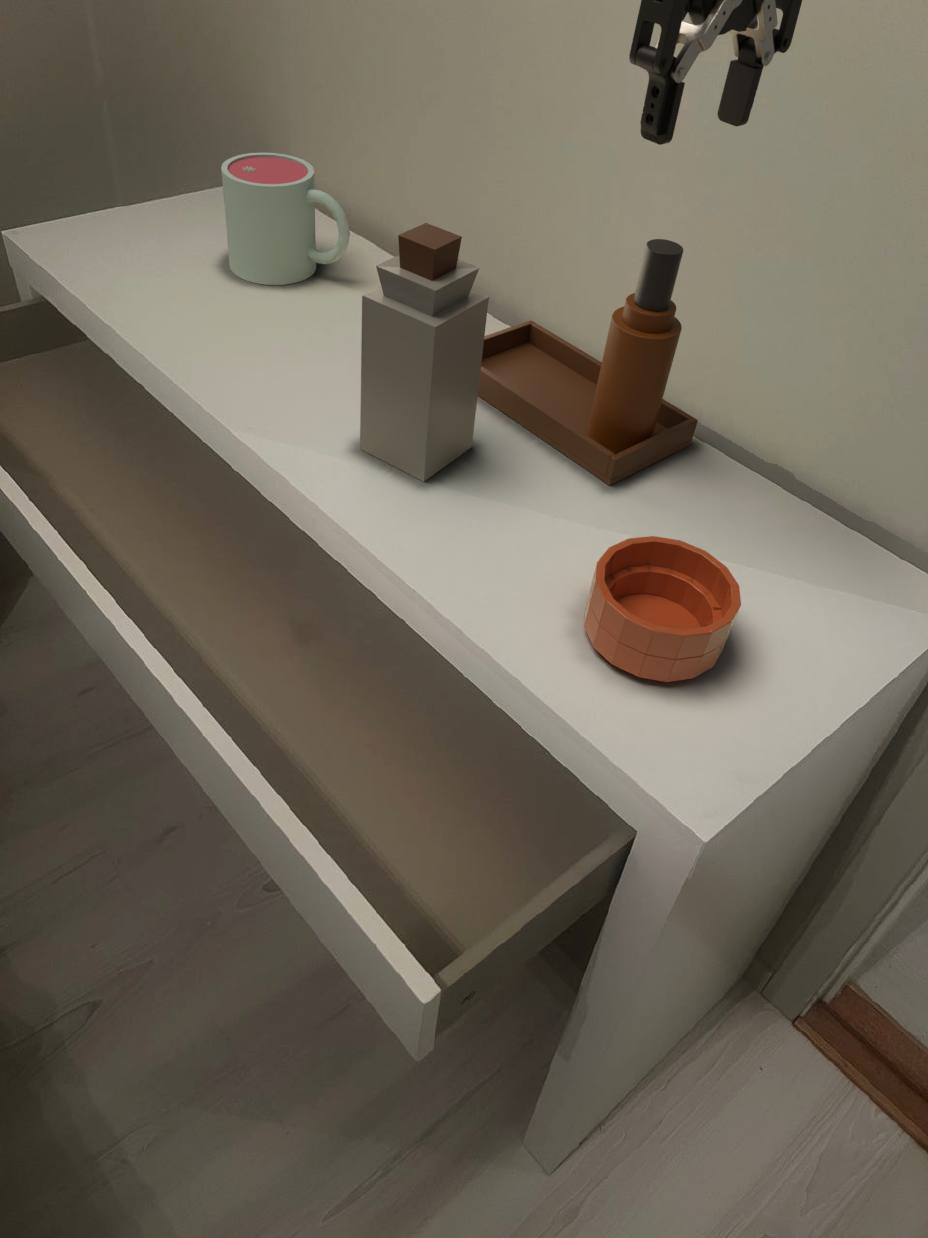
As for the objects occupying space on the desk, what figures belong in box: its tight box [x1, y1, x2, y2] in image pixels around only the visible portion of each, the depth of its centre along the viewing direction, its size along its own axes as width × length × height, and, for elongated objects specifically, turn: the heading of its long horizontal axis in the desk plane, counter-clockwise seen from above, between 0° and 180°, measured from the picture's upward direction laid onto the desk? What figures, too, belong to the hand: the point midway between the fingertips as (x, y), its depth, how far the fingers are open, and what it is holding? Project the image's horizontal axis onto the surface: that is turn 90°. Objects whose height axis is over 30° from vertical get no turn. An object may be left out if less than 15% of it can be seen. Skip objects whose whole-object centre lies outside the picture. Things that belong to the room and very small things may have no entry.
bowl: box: [583, 535, 742, 683], centre depth 63 cm, size 10×10×5 cm
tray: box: [478, 319, 699, 486], centre depth 84 cm, size 21×11×3 cm, turn 41°
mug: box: [220, 152, 351, 286], centre depth 97 cm, size 14×9×10 cm
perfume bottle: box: [359, 222, 490, 482], centre depth 72 cm, size 7×7×18 cm
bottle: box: [587, 238, 684, 455], centre depth 76 cm, size 6×6×17 cm
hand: (694, 131), depth 64 cm, fingers open, 8 cm apart
